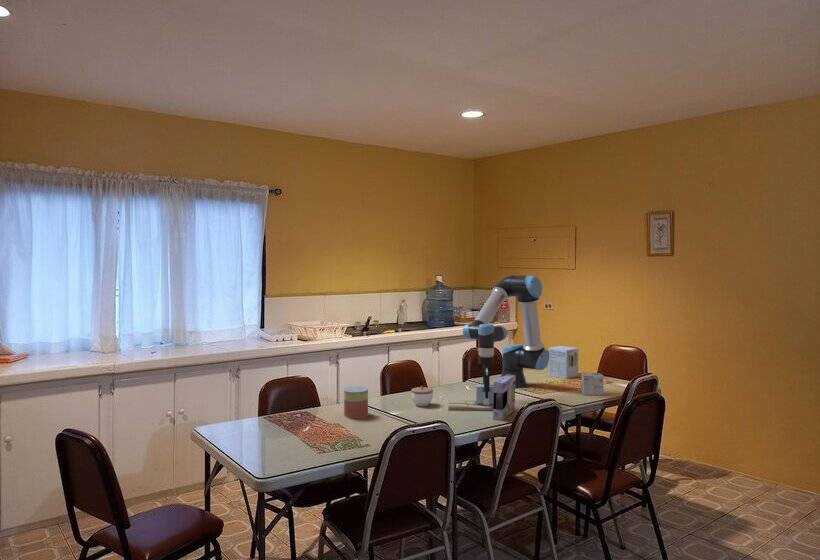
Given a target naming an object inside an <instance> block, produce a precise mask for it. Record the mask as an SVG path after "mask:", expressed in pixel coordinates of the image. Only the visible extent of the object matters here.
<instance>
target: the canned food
mask: <svg viewBox="0 0 820 560" xmlns="http://www.w3.org/2000/svg"><path fill="white" fill-rule="evenodd" d="M343 404H344V405H343V416H344V417H345V418H347V419H348V418H349V419H362V418H366V417H368V416H369V389H368V388H367V387H364V386H351V387H349V386H348V387H345V388H344V389H343Z"/></svg>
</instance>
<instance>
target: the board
mask: <svg viewBox="0 0 820 560" xmlns="http://www.w3.org/2000/svg"><path fill="white" fill-rule="evenodd" d="M447 405H448V407H447V409H448V411H468V410H493V405H476V400H452V399H451V400H448V402H447Z"/></svg>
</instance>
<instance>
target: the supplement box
mask: <svg viewBox="0 0 820 560" xmlns="http://www.w3.org/2000/svg"><path fill="white" fill-rule="evenodd" d="M548 351H549V362H548V376H549V377H554V378H559V377H560V379H565V378H566V379H570V378H571V377H572V378H575V376H576V377H579V347H574V346H573V347H572V346H565V345H558V346H557V345H556V346H553V347H549V348H548ZM566 379H565V380H566Z"/></svg>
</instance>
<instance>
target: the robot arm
mask: <svg viewBox="0 0 820 560" xmlns="http://www.w3.org/2000/svg"><path fill="white" fill-rule="evenodd" d="M490 292H491V294H490V295H489V297H488V298H487V300H486V301H485V303H484V304H483V305H482V307H481V308H480V311H479V312H478V313H477V314H476V316H475V318H474V319H473V320H472V322H471V323H466V324H465V325H464V326H463V328H462V335H463V337H464V338H465V339H468V340H477V341H478V348H477V349H476V350H477V351H478V364H479V365H481V366H482V367H481V373H482V385H484V390H483V392H484V405H489V391H490V389H489V385H491V384H490V377H491V367H490V366H491V365H492V366H493V365H494V363H495V357H494V356H495V343H496V342H501V341H503V340H505V339H506V338H507V336H508V330H507V328H506V327H505V326H504V325H494V324H492V323H490V322H491V321H492V320H493V318H494V316H495V315H496V313H497V312H498V310H499V308H500V307H501V306H502V304H503V303H504V302H505V301H507V299H508V298H510V297H516V300H517V302H518V303H519V304H520V310H521V319H522V326H523V335H524V342H525V343H524V344H522V343H518V344H517V343H515V344H514V343H513V344H507V345H504V346H503V347H502V371H501V375H500V378H501V377H503V376H505V375H506V374H511V375H515V388H524V387H526V386H527V380H526V377H525V373H524V369H526V370H527V369H529V370H535V371H543V370H545V369H546V368H547V367H548V366H549V349H545V345H544V343H542V338H541V332H540V330H541V329H540V328H541V327H540V323H539V322H540V321H539V311H538V303H537V302H538V301H539V300H540V297H541V296H542V293H543V284H542V281H541V279H540V278H539V277H538V276H536V275H529V274H527V275H524V274H523V275H522V274H519V275H518V274H517V275H516V274H515V275H514V274H513V275H507V276H505V277H503V278H502V279H500V280H499V281H498V282H496V284H495V285H494V286H493V288H492V289H491V291H490Z"/></svg>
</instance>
